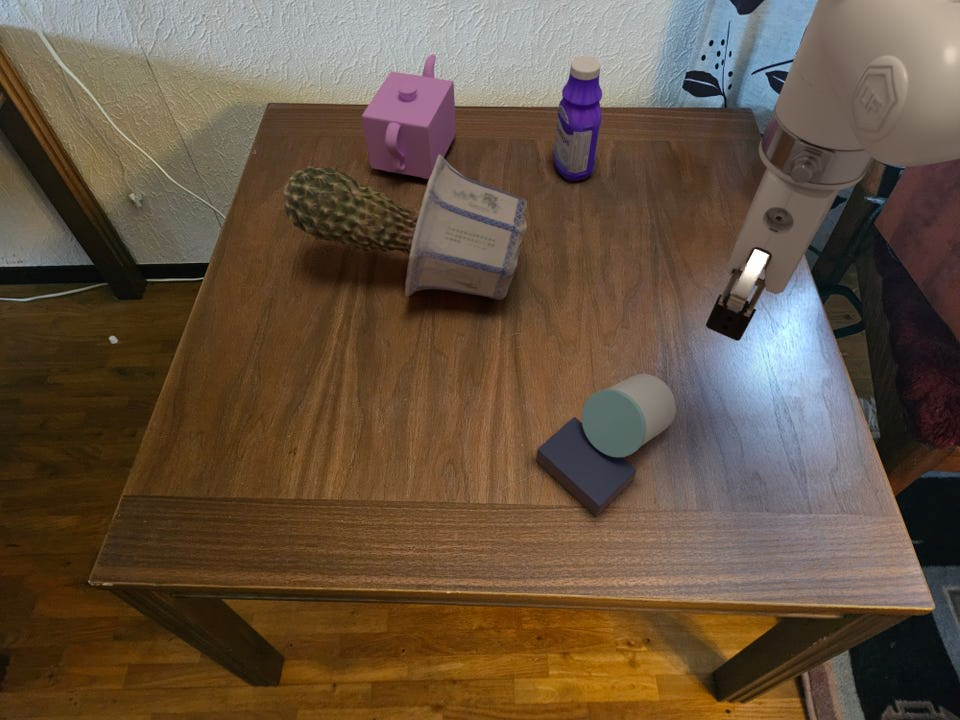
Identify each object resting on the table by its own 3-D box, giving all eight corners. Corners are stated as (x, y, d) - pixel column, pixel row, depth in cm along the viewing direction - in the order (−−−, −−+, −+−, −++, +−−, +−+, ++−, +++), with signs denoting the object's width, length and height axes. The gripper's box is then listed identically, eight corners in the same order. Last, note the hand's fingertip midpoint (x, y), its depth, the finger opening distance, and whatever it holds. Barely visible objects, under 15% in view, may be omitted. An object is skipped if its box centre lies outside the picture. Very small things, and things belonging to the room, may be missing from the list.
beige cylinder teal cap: (627, 388, 77) (642, 339, 68) (676, 427, 73) (698, 381, 65) (567, 442, 73) (576, 397, 64) (616, 485, 70) (632, 444, 61)
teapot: (428, 198, 97) (420, 126, 86) (366, 186, 98) (352, 114, 88) (466, 121, 108) (464, 49, 97) (410, 112, 109) (402, 40, 99)
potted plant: (544, 153, 80) (305, 87, 76) (531, 262, 70) (258, 192, 67) (508, 244, 94) (307, 191, 91) (494, 343, 85) (268, 290, 81)
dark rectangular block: (632, 481, 70) (637, 470, 67) (595, 517, 68) (599, 506, 65) (571, 428, 74) (574, 415, 71) (535, 460, 71) (536, 448, 69)
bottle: (547, 158, 102) (556, 53, 87) (580, 151, 103) (594, 46, 88) (564, 187, 98) (576, 82, 83) (598, 179, 99) (616, 74, 84)
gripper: (840, 232, 40) (749, 380, 54) (903, 96, 48) (809, 255, 62) (725, 190, 42) (666, 342, 56) (803, 67, 50) (735, 227, 64)
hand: (741, 297), depth 59 cm, fingers open, 9 cm apart
